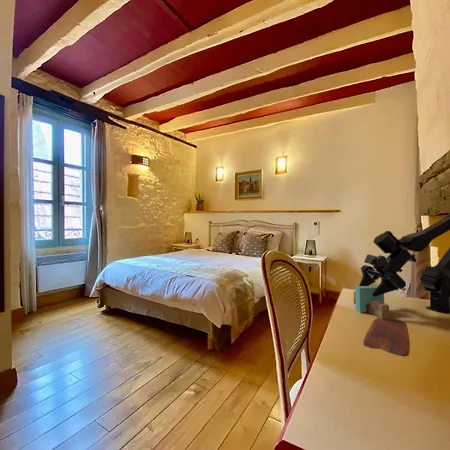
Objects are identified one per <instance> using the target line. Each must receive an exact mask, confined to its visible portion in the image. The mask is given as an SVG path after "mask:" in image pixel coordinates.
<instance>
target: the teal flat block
mask: <svg viewBox="0 0 450 450" xmlns="http://www.w3.org/2000/svg"><path fill="white" fill-rule="evenodd" d="M378 286H379V285H369V286H359V285H358V286H357V285H356V286H354V288H355V289H354V290H355V291H354V292H355V301H356V305H355V311H356V310H357V311H356V312H358V311H359V312H366V313H367V311H366V305H369V304H370V300H379V301H381V302H383V303H385V293H384V294H381V295H378V296H375V297H374V296H373V295H372V294H373V292H374V291H375V289H376V288H377V287H378ZM359 312H358V313H359Z"/></svg>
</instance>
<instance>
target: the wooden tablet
mask: <svg viewBox="0 0 450 450" xmlns="http://www.w3.org/2000/svg"><path fill="white" fill-rule="evenodd" d="M363 346H364V347H366V348H369V349H370V348H371V349H374V350H375V349H376V350H382V351H383V352H387V353H389V354H393V355H396V356H401V357H405V356H407V355H408V352H409V347H410V338H409V333H408V327H407V324H406V322H405V321H401V320H397V319H389V320H382V319H379V318H377V317H376V318H375V319H373V321H372V322H371V324H370V326H369V327H368V330H367V331H366V334H365V336H364V338H363Z"/></svg>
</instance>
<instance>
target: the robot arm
mask: <svg viewBox="0 0 450 450" xmlns="http://www.w3.org/2000/svg"><path fill="white" fill-rule="evenodd" d="M448 231H450V213H449V214H447V215H446V216H445V217H443V218H441V219H440V220H438V221H436V222H435V223H433V224H432V225H429V226H428V227H426V228H424V229H422V230H421V231H420V230H419V231H417V232H413V233H409V234H406V235H403V236H402V237H401V238H400V239H398V238H397V237H396V235H394V234H393V233H392V232H391V231H390V230H385V231H384V232H382V233H380V234H379V235H376V236H375V237H374V239H373V243H374V245H375V246H376V247H377V248H379V249H380V251H382V252H383V253H384V254H388V256H387V257H386V256H384V255H381V254H380V255H379V254H378V255H376V256H375V255H372V254H366V256H365V259H364V263H365V264H364V265H362V266H360V270H361V271H360V272H361V273H362V278H361V279H360V283H359V285H358V286H372V285H373V284H374V283H376V281H377V280H379V279H380V283H379V284H378V285H377V286H378V287H377V288H376V289H375V291H374V292H373V294H372V295H373V296H374V297H375V296H378V295H381V294H384V295H385V294H387V293H390V292H394V291H399V290H403V289H405V287H406V285H407V283H406V281H405V280H404V279H403V278H402V277H401V276H400V275H399V274H398V273H402V272H403V271H404V270H403V269H402V268H403V267H404V266H405V265H406V264H407V263H408V262H412V263H417V259H416V254H414V253H410V252H415V253H420V252H423V251H424V250H425V249H427V248H428V247H429V246H430V245H431V242H433V240H435V239H436V238H438V237H440V236H442V235H444V234H446V233H447V232H448ZM367 264H369V265H367ZM370 265H371V266H370ZM419 279H420V283H421V285H422V286H423V289H424V291H426V292H430V293H429V295H430V296H429V305H428V306H425V309H428V310H432V311H435V312H439V313H443V314H449V313H450V247H449V248H448V249H447V251H446V252H445V253H444V255H443V256H442V257H441V259H440V260H439V261H438V262H437V264H436V265H434V266H431V265H430V266H429V265H427V266H426V267H425V269H424V270H423V272H421V273H420V278H419Z"/></svg>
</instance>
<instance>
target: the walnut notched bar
mask: <svg viewBox="0 0 450 450" xmlns="http://www.w3.org/2000/svg"><path fill="white" fill-rule="evenodd" d="M353 304H354V305H355V304H356V301H355V291H353ZM367 311H368V312H367ZM366 312H367V313H369V314H370V313H371V314H370V315H372V316H374V317H375V316H376V317H375V318H377V317H378V318H379V319H382V320H390V305H389V304H387V303H385V302H384V303H383V302H381V301H379V300H370V304H369V305H366Z"/></svg>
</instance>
